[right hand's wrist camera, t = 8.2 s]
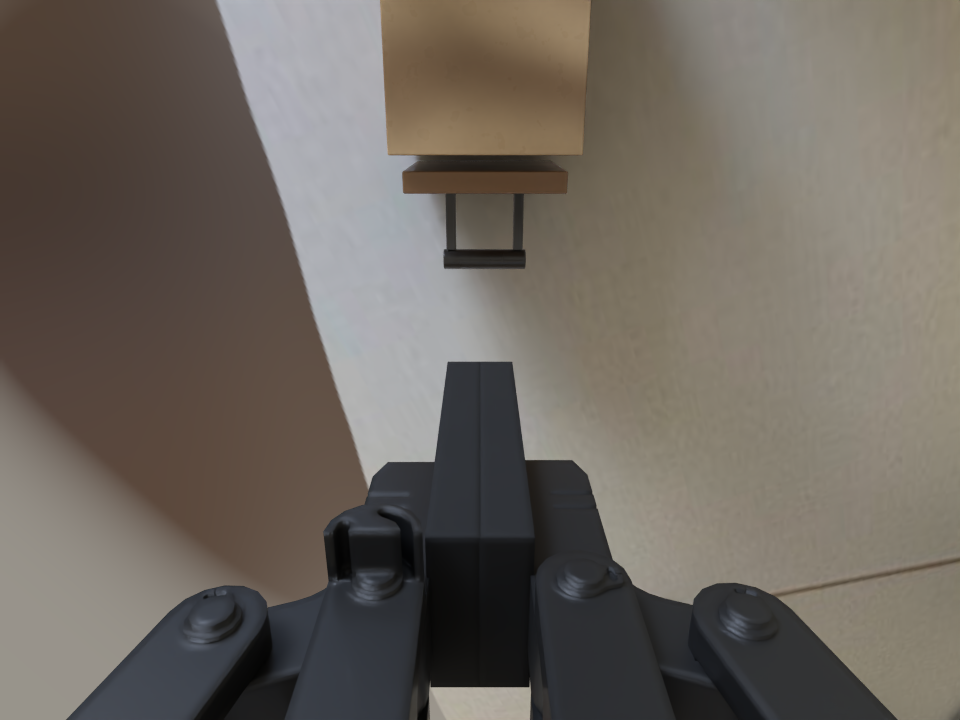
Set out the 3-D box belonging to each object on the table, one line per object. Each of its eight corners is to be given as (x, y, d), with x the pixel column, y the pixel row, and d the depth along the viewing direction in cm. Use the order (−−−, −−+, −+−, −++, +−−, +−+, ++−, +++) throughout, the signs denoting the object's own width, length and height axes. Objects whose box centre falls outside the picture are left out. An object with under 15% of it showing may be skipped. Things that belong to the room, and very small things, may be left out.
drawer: (547, 255, 46) (562, 286, 37) (421, 254, 46) (406, 286, 37) (562, -134, 37) (586, -207, 29) (407, -133, 37) (385, -207, 29)
